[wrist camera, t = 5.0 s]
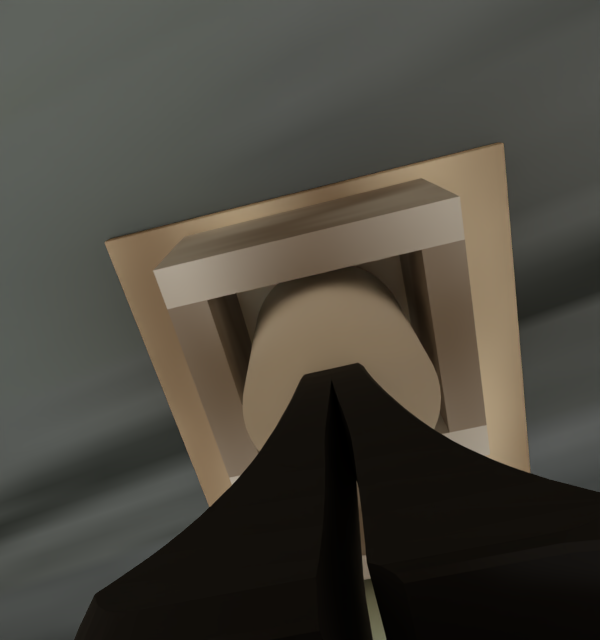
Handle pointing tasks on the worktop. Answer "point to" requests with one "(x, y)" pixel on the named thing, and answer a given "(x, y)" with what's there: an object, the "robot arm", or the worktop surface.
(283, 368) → the ivory key
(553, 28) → the worktop surface
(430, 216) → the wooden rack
